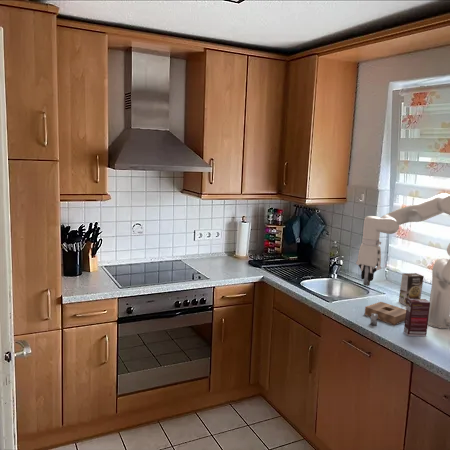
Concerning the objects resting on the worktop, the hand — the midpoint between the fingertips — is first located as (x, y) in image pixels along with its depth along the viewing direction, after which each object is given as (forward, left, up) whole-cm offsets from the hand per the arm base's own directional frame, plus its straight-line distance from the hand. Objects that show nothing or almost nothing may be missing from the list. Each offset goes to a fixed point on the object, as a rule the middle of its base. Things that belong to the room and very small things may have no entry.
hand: (367, 279), depth 224 cm
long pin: (0, 0, -3) cm, 3 cm away
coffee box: (-3, -39, -19) cm, 44 cm away
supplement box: (-26, -1, -19) cm, 32 cm away
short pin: (-9, +5, -19) cm, 21 cm away
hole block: (-7, -10, -19) cm, 23 cm away
